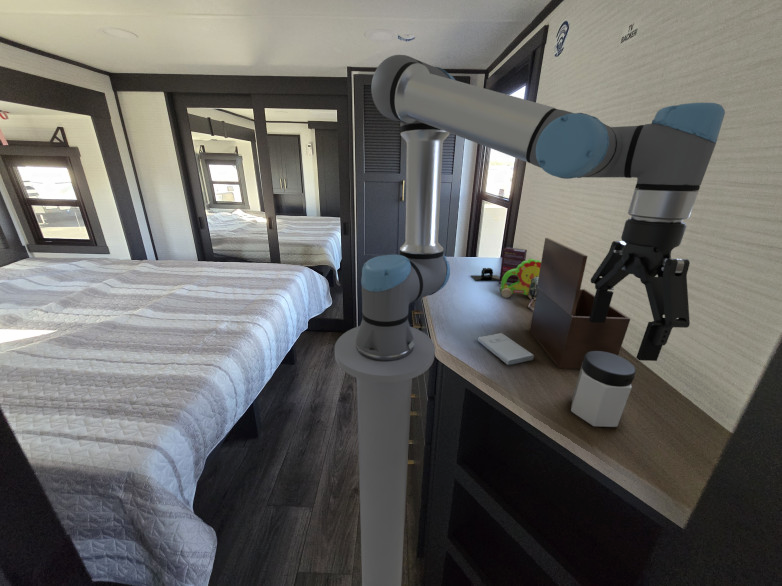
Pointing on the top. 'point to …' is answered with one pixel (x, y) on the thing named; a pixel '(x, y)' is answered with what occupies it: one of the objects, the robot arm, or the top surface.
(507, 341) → the hard drive
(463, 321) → the top surface
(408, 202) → the robot arm
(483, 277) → the build plate
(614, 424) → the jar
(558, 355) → the chest
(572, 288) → the lid
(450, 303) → the top surface
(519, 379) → the top surface
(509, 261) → the supplement box
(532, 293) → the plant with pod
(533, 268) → the toy lion
